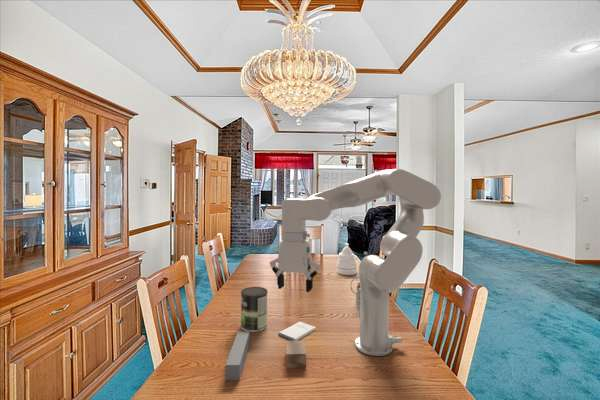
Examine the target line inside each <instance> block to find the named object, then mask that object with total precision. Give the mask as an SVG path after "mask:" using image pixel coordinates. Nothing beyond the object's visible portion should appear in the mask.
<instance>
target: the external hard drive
mask: <svg viewBox="0 0 600 400" xmlns="http://www.w3.org/2000/svg"><path fill="white" fill-rule="evenodd" d="M316 330H317V327H316V326H313V325H310V324H308V323H305V322H303V321H298V322H296V323H294V324H293V325H291V326H289V327H287V328H284V329H283V330H281V331H279V332H278V336H280V337H283V338H285V339H287V340H289V341H300V340H301V339H303V338H304V337H306V336H308V335H310V333H313V332H315V331H316Z"/></svg>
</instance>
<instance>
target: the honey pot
mask: <svg viewBox="0 0 600 400" xmlns="http://www.w3.org/2000/svg"><path fill="white" fill-rule="evenodd" d="M344 245H345V246H344V247H343V249H342V250H341V252H339V253H338V255H339V257H338V258H337V262H336V273H337V274H340V275H344V276H345V275H346V276H347V275H348V276H353V275H357V274H358V273H357V270H358V269H357V268H358V267H357V266H358V264H357V262H356V258H355V253H353V251H352V249H351V248H350V246H349V245H350V244H349V243H345V242H344Z"/></svg>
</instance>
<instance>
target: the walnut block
mask: <svg viewBox="0 0 600 400" xmlns="http://www.w3.org/2000/svg"><path fill="white" fill-rule="evenodd" d="M285 341H286V342H285V344H286V345H285V368H286V369H296V368H297V369H299V368H300V369H301V368H304V369H305V368H307V351H306V344H305V340H298V341H292V340H285Z"/></svg>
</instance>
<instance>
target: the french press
mask: <svg viewBox="0 0 600 400" xmlns="http://www.w3.org/2000/svg"><path fill="white" fill-rule="evenodd" d="M363 255H365V256H364V257H366V256H368V255H369V253H368V252H367V251H363ZM356 278H357V279H358V278H359V273H356V277H354V278H353V279H351V281H350V285H352V283H353V281H355V280H356ZM350 290H351V292H352V293H353V294H354V295H356V296H355V302H354V303H353V304H354V306H355V307H356V308H359V309H360V295H361V292H360V281H359V282H358V283H357V286H356V291H354V290H353V287H350Z"/></svg>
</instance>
